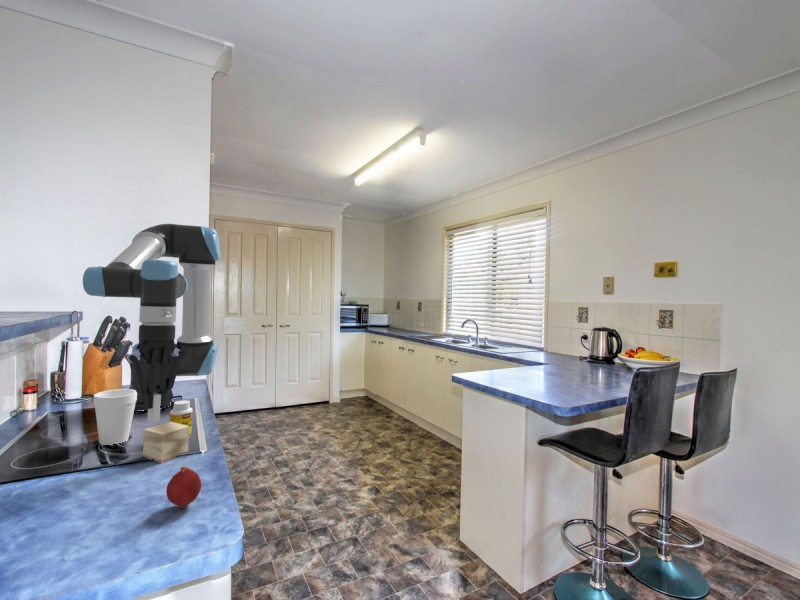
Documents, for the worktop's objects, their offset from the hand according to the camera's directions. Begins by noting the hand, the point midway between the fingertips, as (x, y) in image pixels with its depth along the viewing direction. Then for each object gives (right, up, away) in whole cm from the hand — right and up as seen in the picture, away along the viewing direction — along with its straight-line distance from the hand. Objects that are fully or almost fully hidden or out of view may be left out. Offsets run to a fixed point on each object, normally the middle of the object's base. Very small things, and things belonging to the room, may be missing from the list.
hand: (153, 420), depth 93 cm
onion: (+18, -11, -20) cm, 29 cm away
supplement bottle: (-2, -10, +14) cm, 17 cm away
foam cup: (-17, -9, +10) cm, 22 cm away
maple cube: (+1, -3, +3) cm, 4 cm away
